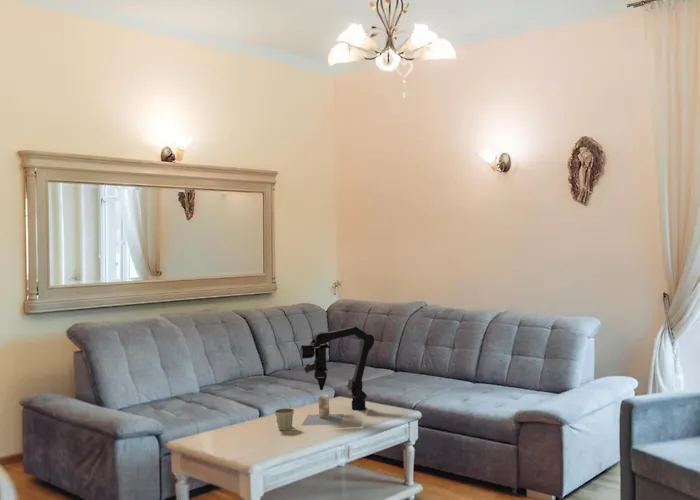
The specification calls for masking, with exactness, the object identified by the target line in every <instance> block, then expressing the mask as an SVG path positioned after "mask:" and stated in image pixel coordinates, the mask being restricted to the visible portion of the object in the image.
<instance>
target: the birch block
mask: <svg viewBox="0 0 700 500" xmlns="http://www.w3.org/2000/svg"><path fill="white" fill-rule="evenodd" d="M329 396H330V395H327V394H326V395H319V397H318V414H319V418H329V416H330V414H331V413H330V397H329Z"/></svg>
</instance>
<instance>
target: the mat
mask: <svg viewBox="0 0 700 500" xmlns="http://www.w3.org/2000/svg"><path fill="white" fill-rule="evenodd" d="M343 416H344V413H330V416H329V418H319V413H318V414H316V413H315V414H307V415H306V418H304V420H303V422H302V423H301V426H318V425H319V426H329V425H330V426H331V425H333V426H334V425H340V424H341V421H342V419H343Z"/></svg>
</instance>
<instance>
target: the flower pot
mask: <svg viewBox="0 0 700 500" xmlns="http://www.w3.org/2000/svg"><path fill="white" fill-rule="evenodd" d="M294 412H295V409H293V408H290V407H289V408H288V407H285V408H277V409H275V410H274V414H275V416H276V422H277V426H278V427H277V428H278V430H279V431H290V430H291V429H292V427H293V417H294V414H295V413H294Z"/></svg>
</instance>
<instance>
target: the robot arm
mask: <svg viewBox="0 0 700 500" xmlns="http://www.w3.org/2000/svg"><path fill="white" fill-rule="evenodd" d="M312 336H313V338H312V340H311V342H310V343H309V344H306V345H305V344H300V349H299V359H301V360H305V359H313V357H314V362H311V363H308V364H306V365H304V366H303V368H304V371H305V373H306V374H308V373H309V372H312V371H314V374H313V376H314V379H316V381H317V382H318V387H319V390H320V391H323V389H324V386H325V384H326V381H327V378H328V372H329V371H328V370H329V367H328V365H327V361H328V360H327V349H330V348H331V346H330V345H329V344H328V343H329V342H331V341H333V340H336V339H340V338H346V337H350V336H355V337H356V338H357V339H359V353H358V357H357V361H356V365H355V370H354V374H353V377H352V378H351V379H348V382H347V383H348V384H347V385H346V388H347V392H348V393H349V394H350V395H351V397H352V399H351V409H352V411H366V409H367V407H366V406H367V405H366V404H367V403H366V399H367V396H368V395H367V393H365V392H364V391H363V387H364V386H363V378H364V377H363V376H364V373H365V370H366V369H365V368H366V364H367V361H368V360H367V359H368V356H369V352H370V351H371V349H372V348H373V345H374V343H375V337H374V336H373V334H371V333H367V332H365V331H363V330H361V329H360V328H359V327H358V326H355V325H354V326H353V325H352V326H350V327H349V326H348V327H344V328H341V329H335V330H332V331H317V332H315V333H314V334H313V335H312Z"/></svg>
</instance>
